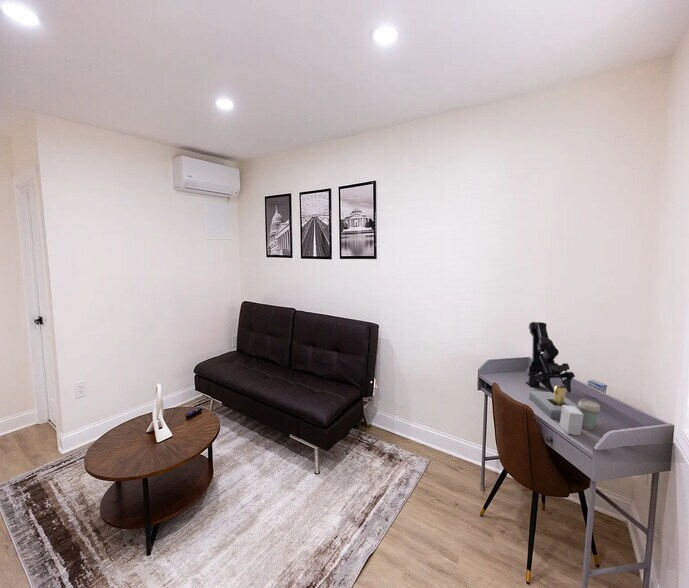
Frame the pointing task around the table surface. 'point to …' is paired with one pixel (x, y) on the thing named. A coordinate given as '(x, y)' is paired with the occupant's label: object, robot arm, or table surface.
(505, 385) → the table surface
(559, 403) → the brass cylinder
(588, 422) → the coffee cup
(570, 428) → the small box
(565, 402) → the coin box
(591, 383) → the medicine box
